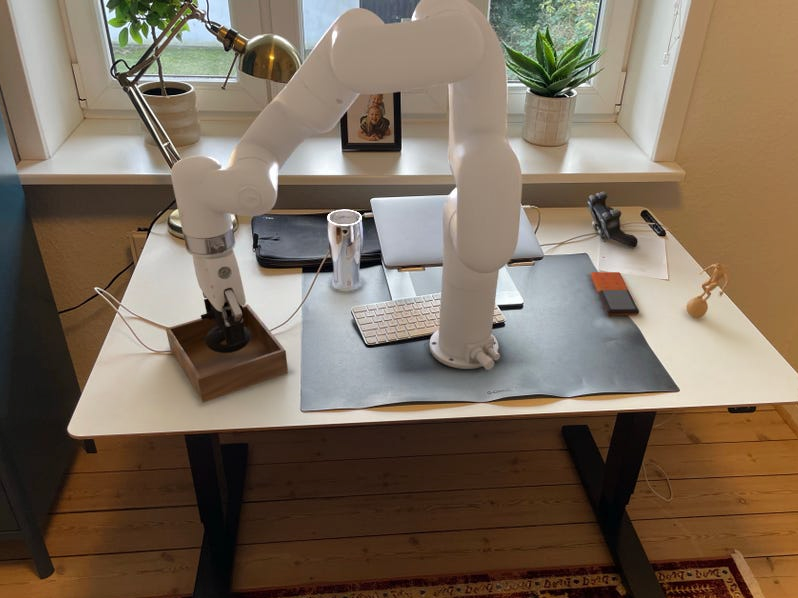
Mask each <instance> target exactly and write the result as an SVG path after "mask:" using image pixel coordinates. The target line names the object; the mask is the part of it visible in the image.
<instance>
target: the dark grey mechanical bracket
mask: <svg viewBox="0 0 798 598" xmlns="http://www.w3.org/2000/svg"><path fill="white" fill-rule="evenodd" d="M607 198H608V193H606V192H605V191H601V192H596V194H595V195H594V194H591V195H589V196H588V201H587V204H586V205H587V209H588V210H589V212H590V214H591V216H592V218H593V220H594V221H592V222H591V225H592V228H593V229H594V230H595V231H597V232H598V235H599V237H600V239H602V240H604V237H605V238H606V239H607V240H612V241H614V242H617V243H619V244H622V245H624V246H627V247H629V248H634V249H635V248H637V246H638V244H639V241H638V238H637V237H636V236H635V235H634V234H630V233H625V232H624V231H623V230H622V229H621V222H620V218H621V216H622V214H623V213H622V211H621V210H620V209H619V208H618V209H615V208H613V207H612V206H609V205H607V204H606V200H607Z"/></svg>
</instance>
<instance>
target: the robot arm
mask: <svg viewBox="0 0 798 598" xmlns="http://www.w3.org/2000/svg"><path fill="white" fill-rule="evenodd" d="M501 44H502V43H501V42H500V39H499V37H498V35H497V33H496V31H495V30H494V28H493V26H492V25H491V23H490V21H489V20H488V18H487V17H486V16H485V15H484V14H483V12H482V11H480V9H478V8H477V7H476V6H475V5H474V4H472V3H471V2H470V1H468V0H419V2H418V3H417V4H416V7H414V11H413V13H412V17H411V20H406V21H400V22H391V23H385V22H384V21H383V20H382V19H381V17H379V16H378V15H377V14H376V13H374V12H373V11H371V10H369V9H366V8H362V7H352V8H350V9H347V10H345V11H343V12H342V13H340V15H338V16H337V17H336V19H335V20H334V21H333V22H332V23H331V24H330V25H329V27H328V29H327V30H326V31H325V33H324V34H323V35H322V37H320V39H319V41H317V43H316V45H314V48H313V49H312V50H311V52H310V53H309V54H308V56H307V57H306V59H305V60H304V61H303V62H302V64H301V65H300V67H299V68H298V70H296V72H295V73H294V74H293V76H292V77H291V79H290V80H289V81H288V82H287V83H286V85H285V86H284V87H283V89H281V91H280V92H278V93H277V94H276V96H275V97H274V98H273V99H272V100H271V101H270V102H269V103H268V104H267V105H266V106H265V108H264V109H262V111H261V112H260V113H259V114H258V116H257V117H256V118H255V119H254V120H253V122H252V123H251V124H250V126H249V127H248V129H246V131H245V133H244V134H243V135H242V137H241V138H240V139H239V141H238V142H237V144H236V145H235V146H234V148H233V150H232V152H231V154H230V157H229V160H228V165H227V167H226V168H225V167H224V166H223V165H222V164H221V162H219V161H218V160H217V159H216V158H213V157H211V156H207V155H192V156H187V157H183V158H181V159H179V160H178V161H176V162H175V163H174V164H173V165H172V167H171V170H170V177H171V183H172V188H173V193H174V197H175V202H176V207H177V212H178V216H179V221H180V226H181V230H182V235H183V240H184V245H185V251H186V252H187V254H189V255H191V256H192V261H193V267H194V272H195V275H196V281H197V284H198V286H199V288H200V290H201V292H202V296H203V298H204V299H203V302H204V307H205V314H206V313H208V312H210V311H211V304H212V305H213V306H214V307H215V309H216V310H218V311H220V312H221V315H222V317H223V320H224V323H225V324H223V329H224V334H225V340H226V343H227V345H232V344H235V343H238V342H241V341H244V340H245V332H244V326H243V319H242V318H243V317H242V311H241V309H240V307H239V305H238V303H239V304H240V306H241V305H242V306H243V305H246V303H247V299H246V294H245V290H244V285H243V281H242V275H241V271H240V267H239V264H238V260H237V256H236V254H235V251H234V248H235V247H236V239H235V238H236V237H235V231H234V226H233V219H232V215H236V216H246V217H258V216H262V215H265V214H267V213H268V212H270V211H271V210H272V209H273V208H274V206H275V205H276V203H277V199H278V189H279V188H278V187H279V172H280V170H281V169H282V167H283V166H284V165H285V164H286V162H287V161H288V160H289V159H290V157H291V156H292V154H293V153H294V152H295V151H296V149H298V147H299V146H300V145H301V144H302V143H303V142H304V141H305V140H307V138H309V137H311V136H313V135H316V134H325V133H328V132H330V131H332V130H333V129H334V128H335V127H336V125H337V124H338V123H339V121H340V120H341V119H342V118H343V117H344V115H345V114H346V112H347V111H348V110H349V109H350V107H351V106H352V105H353V104H354V102H355V101H356V100H357V99H358V97H359V96H360V95H384V94H393V93H399V92H406V91H413V90H414V91H415V90H419V89H427V88H434V87H440V86H445V85H448V104H449V118H448V124H449V125H448V143H447V145H448V146H447V162H448V165H449V170H450V172H451V175H452V177H453V180H454V183H455V188H454V189H453V190H452V191H451V192H450V193H449V194H448V195H447V198H446V200H445V203H444V206H443V209H442V210H443V211H442V245H443V246H442V253H443V254H442V270H441V271H442V272H441V287H440V303H439V304H440V305H439V319H438V320H439V322H438V329H437V330H436V331H434V332H433V333H432V335H431V336H430V339H429V352H430V353H431V355H432V356H433V357H434V358H435V359H436V360H437V361H438V362H440V364H444V365H445V366H448V367H451V368H454V369H459V370H472V369H473V370H474V369H479V368H484V369H485V370H487V371H490V370H492V369H493V368H494V366H495V361H499V360H500V358H501V354H500V353H499V342H498V340H497V337H496V336H495V335H494V334H493V326H494V325H493V323H494V316H495V305H496V299H497V298H496V297H497V289H498V280H499V271H500V270H501V269H503V268H504V267H505V266H506V265H507V264H509V262H510V260H511V259H512V258H513V257H514V254H515V252H516V250H517V246H518V241H519V235H520V233H519V232H520V224H521V223H520V221H521V207H522V196H523V195H522V194H523V175H522V168H521V164H520V161H519V159H518V156H517V153H515V151H514V149H513V147H512V145H511V143H510V140H509V136H508V91H509V89H508V87H509V85H508V69H507V63H506V58H505V54H504V50H503V48H502V45H501ZM210 302H211V304H210ZM226 302H227V303H228V305H229V306H226V307H223V306H224V303H226ZM227 310H231V315H232V316H230V317H229V318H228V317H227V314H226V311H227ZM208 319H209V320H211V319H213V318H208Z"/></svg>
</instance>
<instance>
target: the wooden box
mask: <svg viewBox="0 0 798 598" xmlns="http://www.w3.org/2000/svg"><path fill="white" fill-rule="evenodd" d="M242 307H243V311H244V318H243V326H244V327H246V328H247V329H248V330H249V332H250V341H249V342H248V344H247V345H246V346H245V347H244V348H242V349H240V350H238V351H235V352H231V353H219V352H215V351H213V350H211V349H210V348H209V347H208V346H207V344H206V336H207V334H208V332H209V331H210V330H212V329H213V328H215V327H217V324H216V322H215V320H214V319H211V320H209V319H208V318H206V319H202V318H201V317H199V318H197V319H193V320H190V321H187V322H183V323H180V324H177V325H173V326H170V327H166V328H165V332H166V336H167V341H168V346H169V350H170V352H171V354H172V355H173V357H174V359H175V360H176V362H177V363H178V365H179V367H180V368H181V370H182V372H183V374H184V376H185V377H186V378H187V380H188V381H189V383H190V385H191V387H192V388H193V389H194V391H195V392H196V394H197V396H198V398H199V399H200V400H201V402H202V403H206V402H208V401H211V400H214V399H217V398H219V397H223V396H225V395H228V394H231V393H234V392H237V391H240V390H243V389H246V388H248V387H251V386H254V385H257V384H260V383H262V382H265V381H269V380H272V379H274V378H277V377H279V376H283V375H286V374H288V373H289V369H288V360H287V351H286V349H285V348H284V346H283V345H282V343H280V341H279V340H278V339H277V338H276V337H275V335H274V334H273V333H272V332H271V331H270V329H269V328H268V327H267V325H265V323H264V322H263V321H262V320H261V318H260V317H259V316H258V315H257V313H256V311H255V310H254V309H253V308H252V307H251V306H250V305H249V304H248V303H247V304H245V305H242ZM220 344H227V343H226V340H224V341H222V342H221V343H220Z"/></svg>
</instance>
